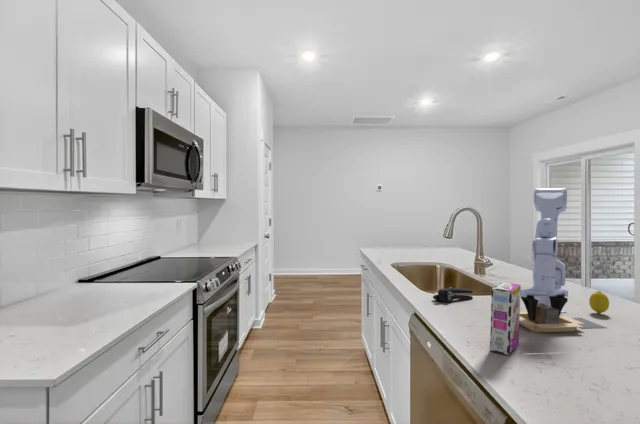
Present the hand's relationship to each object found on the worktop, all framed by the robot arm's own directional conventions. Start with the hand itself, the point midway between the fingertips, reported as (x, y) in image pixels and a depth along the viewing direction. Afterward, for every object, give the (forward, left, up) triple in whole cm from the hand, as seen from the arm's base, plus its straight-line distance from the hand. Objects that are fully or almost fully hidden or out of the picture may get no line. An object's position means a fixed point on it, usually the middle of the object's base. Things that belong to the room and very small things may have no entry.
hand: (543, 319), depth 115 cm
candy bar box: (+15, -22, -3) cm, 27 cm away
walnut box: (0, 0, -2) cm, 2 cm away
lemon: (-12, +29, -2) cm, 31 cm away
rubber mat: (-2, +14, -2) cm, 14 cm away
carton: (0, 0, -2) cm, 2 cm away
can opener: (-33, -13, -3) cm, 35 cm away
